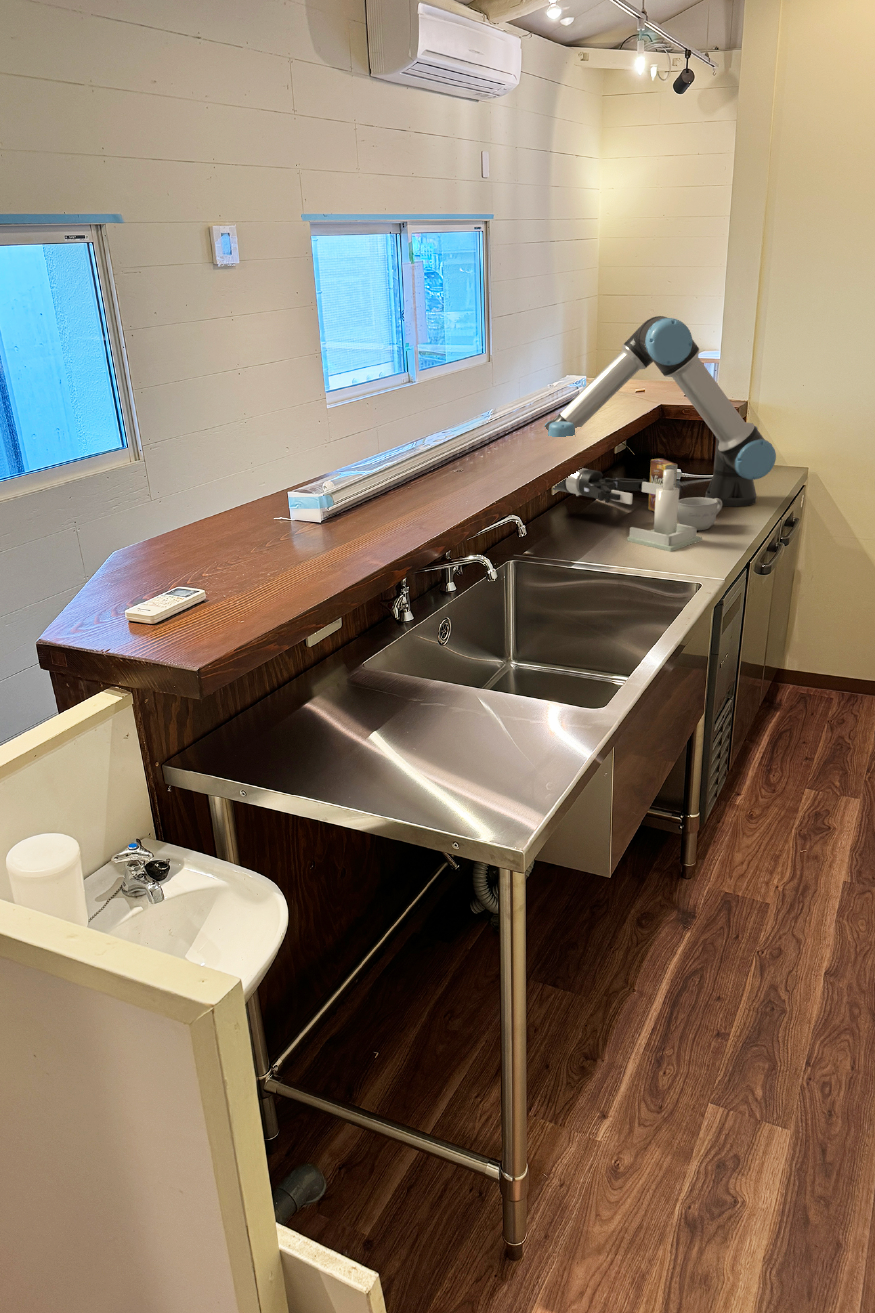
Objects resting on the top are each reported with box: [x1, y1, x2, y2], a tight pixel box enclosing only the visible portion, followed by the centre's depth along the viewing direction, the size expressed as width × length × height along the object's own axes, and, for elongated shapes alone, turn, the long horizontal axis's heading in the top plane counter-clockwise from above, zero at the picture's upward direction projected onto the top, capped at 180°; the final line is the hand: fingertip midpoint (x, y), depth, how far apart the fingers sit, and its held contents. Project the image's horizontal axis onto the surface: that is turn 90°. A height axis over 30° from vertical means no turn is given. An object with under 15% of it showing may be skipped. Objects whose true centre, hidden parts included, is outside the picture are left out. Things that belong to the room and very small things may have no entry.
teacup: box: [677, 496, 723, 531], centre depth 267 cm, size 14×11×8 cm
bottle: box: [653, 469, 680, 535], centre depth 253 cm, size 6×6×18 cm
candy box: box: [647, 458, 678, 513], centre depth 281 cm, size 9×4×15 cm, turn 17°
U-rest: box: [626, 522, 703, 552], centre depth 256 cm, size 14×14×4 cm
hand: (647, 494), depth 256 cm, fingers open, 13 cm apart
